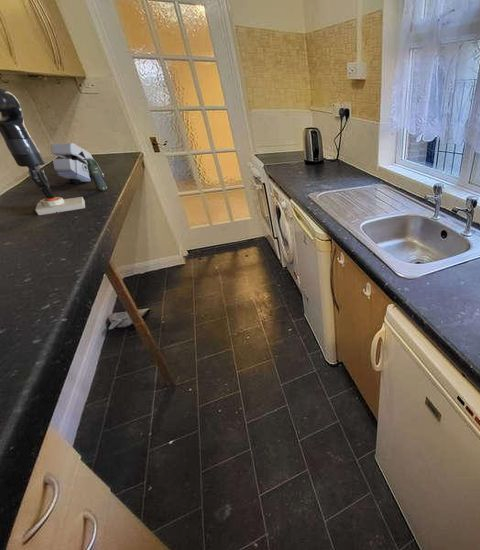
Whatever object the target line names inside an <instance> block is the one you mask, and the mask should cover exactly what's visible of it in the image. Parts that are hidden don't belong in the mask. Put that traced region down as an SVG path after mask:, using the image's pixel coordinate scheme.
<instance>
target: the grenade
mask: <svg viewBox="0 0 480 550" xmlns="http://www.w3.org/2000/svg"><path fill="white" fill-rule="evenodd" d="M83 160H86V161H87V163H88V165H87V167H88V171H89V175H91V176H92V177H91V178H92V180H93V183H94V185H95V188H96V190H97V191H100V192H103V191H107V189H108V186H107V184H106V182H105V181H104V178H105V176H104V177H103V175H102V173H103V172H102V169H101V168H100V164H99V163H98V162H97V161H96V160H95V159H94V158H93V157H92V158H85V159H83Z"/></svg>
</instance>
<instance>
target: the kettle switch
mask: <svg viewBox="0 0 480 550" xmlns="http://www.w3.org/2000/svg"><path fill="white" fill-rule="evenodd" d="M57 197H58V196H54V198H49V199H48V198H46V197H44V199H45V201H53V200H57Z"/></svg>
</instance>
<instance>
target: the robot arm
mask: <svg viewBox="0 0 480 550" xmlns="http://www.w3.org/2000/svg"><path fill="white" fill-rule="evenodd" d="M0 115H1V118H0V135H1V137H2V138H3V140H4V143H5V145H6V148H7V149H8V151H9V152H10V155H11V157H13V160H14V161H15V163H16V165H17V166H18V167H21V168H22V167H25V168H28V171H27V174H28V175H29V176H30V177H31V180H32V181H33V182H34V183H35V185H36V186H37V188H38V189H39V190H41V191H42V193H43V195H44V197H45V198H48V199H49V198H54V197H55V196H54V193H53V191H52V190H51V188H50V183H49V179H48V178H47V175H46V171H45V170H44V168H41V167H40V166H44V165H46V160H45V159H44V157H43V155H42V153H41V151H40V150H39V147H38V145H37V143H36V142H35V141H34V139H33V138H32V136H31V134H30V132H29V130H28V129H27V127H26V124H25V118H24V114H23V109H22V106H21V103H20V101H19V100H18V99H17V97H16V96H15V95H14V94H13V93H12V92H11V91H10V90H7V89H5V88H2V87H1V88H0Z"/></svg>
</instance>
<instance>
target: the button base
mask: <svg viewBox="0 0 480 550" xmlns="http://www.w3.org/2000/svg"><path fill="white" fill-rule="evenodd" d="M56 197H57V200H53V201H45V198H43V199H40V200H39V202H37V204H36V207H35V212H36V214H37V216H43V215H50V214H57V213H62V212H69V211H75V210H76V211H77V210H81V209H86V201H85V199H84V197H83V196H78V197H70V198H63V197H62V196H56ZM56 212H57V213H56Z"/></svg>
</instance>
